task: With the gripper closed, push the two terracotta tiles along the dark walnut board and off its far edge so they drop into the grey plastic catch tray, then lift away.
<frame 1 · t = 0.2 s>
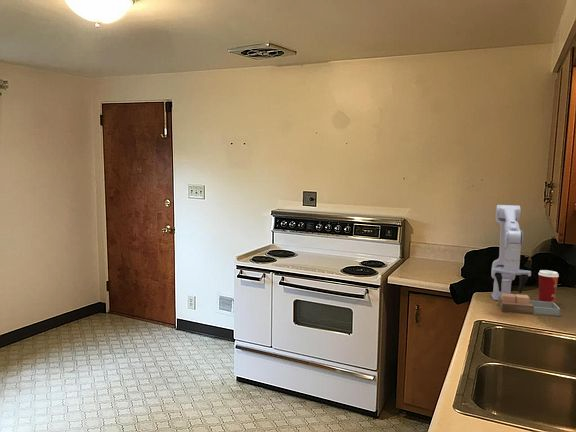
hand: (509, 291, 202), 10 cm above the worktop, tool pointing down, fingers open, 7 cm apart
tile far: (521, 301, 211), point 3 cm above the worktop, touching board
board: (514, 309, 212), on the worktop
coffee cup: (546, 305, 220), on the worktop
tray: (543, 311, 209), on the worktop
tile near: (507, 300, 212), point 3 cm above the worktop, touching board
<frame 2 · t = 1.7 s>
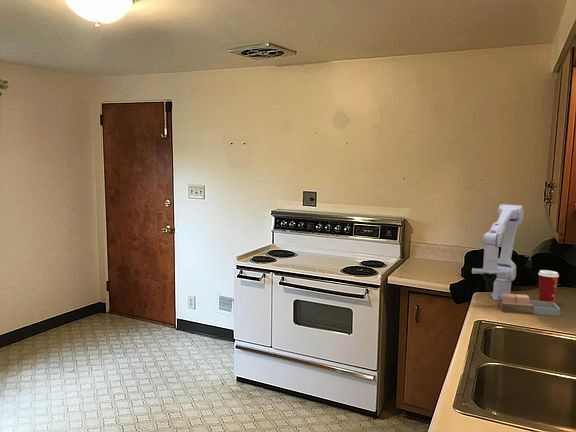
hand: (488, 290, 214), 7 cm above the worktop, tool pointing down, fingers closed
nothing on the worktop moved.
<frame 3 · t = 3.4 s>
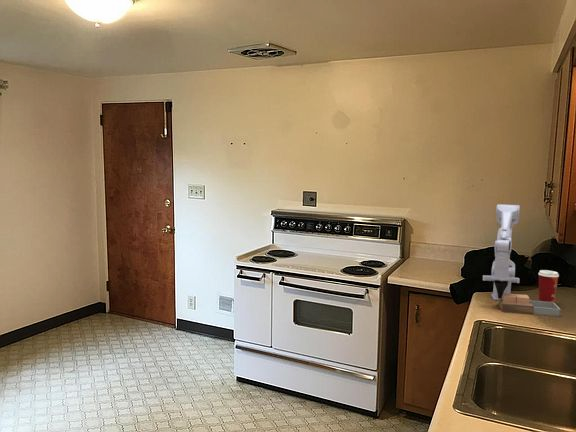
hand: (499, 297, 213), 4 cm above the worktop, tool pointing down, fingers closed
tile near: (508, 300, 212), point 3 cm above the worktop, touching board, gripper
everything else where it was.
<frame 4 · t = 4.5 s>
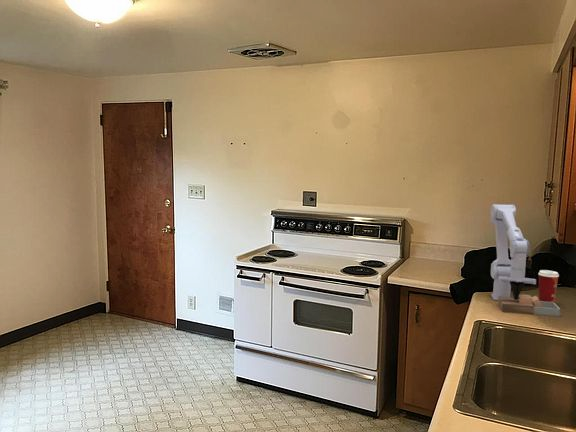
hand: (515, 299, 211), 5 cm above the worktop, tool pointing down, fingers closed
tile far: (534, 304, 210), point 3 cm above the worktop, tilted 60°, touching tray
tile near: (524, 301, 210), point 4 cm above the worktop, touching gripper
everything else where it was.
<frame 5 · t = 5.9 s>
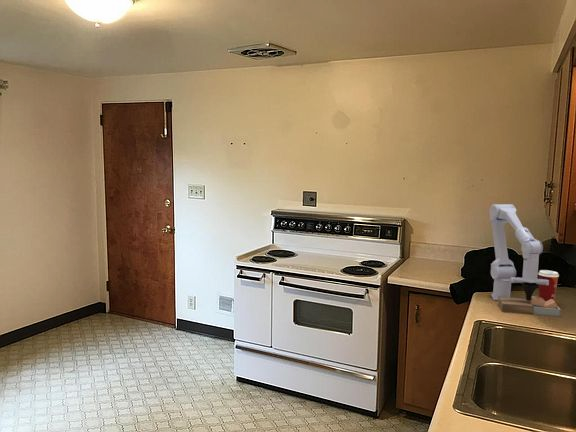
hand: (528, 300, 210), 5 cm above the worktop, tool pointing down, fingers closed
tile far: (547, 302, 208), point 4 cm above the worktop, tilted 148°, touching tile near, tray
tile near: (536, 303, 209), point 3 cm above the worktop, tilted 9°, touching gripper, tile far
everything else where it was.
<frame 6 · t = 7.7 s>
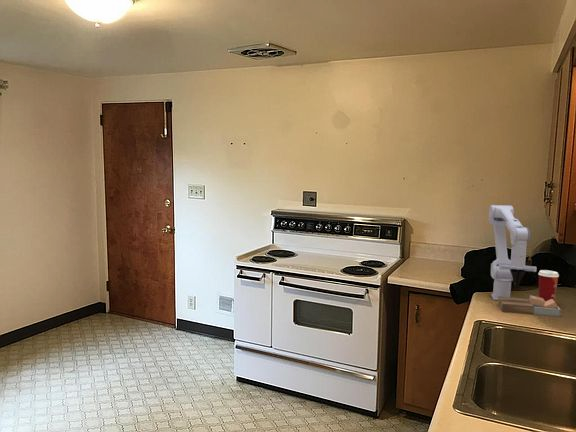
hand: (516, 286, 211), 10 cm above the worktop, tool pointing down, fingers closed
tile near: (536, 303, 209), point 3 cm above the worktop, tilted 9°, touching board, tile far
everything else where it was.
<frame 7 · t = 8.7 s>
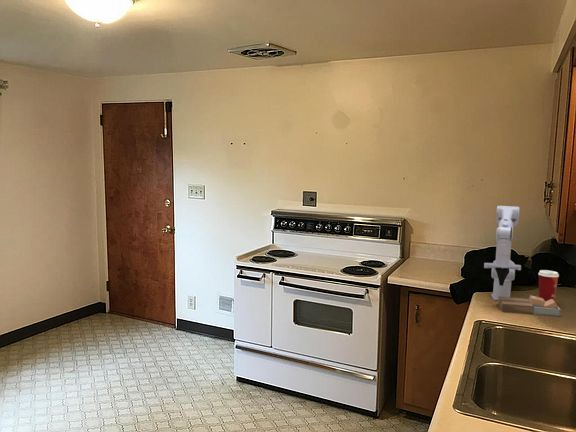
hand: (501, 285, 213), 10 cm above the worktop, tool pointing down, fingers closed
nothing on the worktop moved.
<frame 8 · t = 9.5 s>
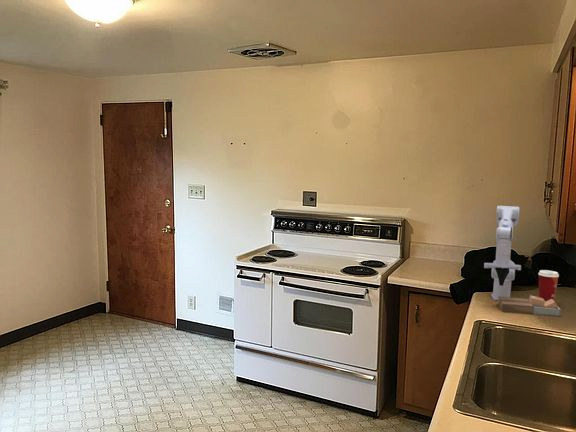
hand: (501, 285, 213), 10 cm above the worktop, tool pointing down, fingers closed
nothing on the worktop moved.
at the end: tile near inside the target area on the tray (3.1 cm from its centre), point 3.2 cm above the tray's base; tile far inside the target area on the tray (1.3 cm from its centre), point 3.9 cm above the tray's base; tile near point 3.2 cm above the worktop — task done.
